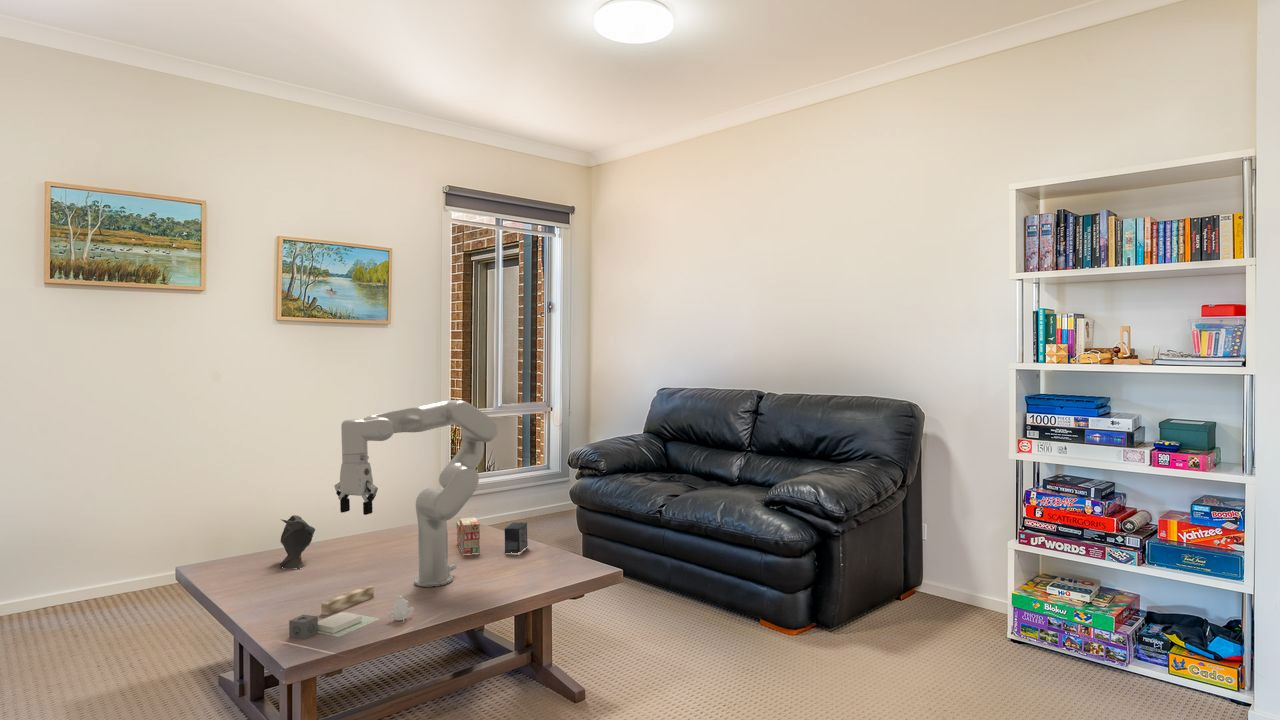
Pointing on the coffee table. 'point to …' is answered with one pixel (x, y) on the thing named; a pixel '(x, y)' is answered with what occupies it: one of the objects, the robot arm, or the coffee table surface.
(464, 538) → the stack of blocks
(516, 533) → the small box
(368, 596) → the tan wavy bar
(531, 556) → the coffee table surface
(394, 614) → the rocket toy
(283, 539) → the dark grey sculpture
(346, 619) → the cream tile
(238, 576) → the coffee table surface
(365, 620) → the sage mat
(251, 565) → the coffee table surface
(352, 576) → the coffee table surface
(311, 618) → the dice cube
